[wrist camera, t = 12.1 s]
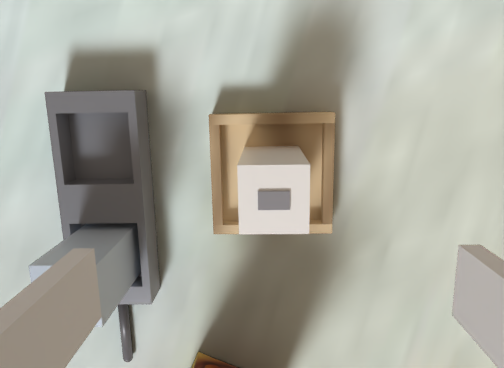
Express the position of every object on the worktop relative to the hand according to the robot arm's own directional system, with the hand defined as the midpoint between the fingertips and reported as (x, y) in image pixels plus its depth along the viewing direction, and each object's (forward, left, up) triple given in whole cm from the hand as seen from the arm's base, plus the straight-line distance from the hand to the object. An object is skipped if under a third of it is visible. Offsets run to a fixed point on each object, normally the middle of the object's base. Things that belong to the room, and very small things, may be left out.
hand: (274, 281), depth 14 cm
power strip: (-14, -6, -21) cm, 26 cm away
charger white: (0, 0, -20) cm, 20 cm away
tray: (0, 0, -21) cm, 21 cm away
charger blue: (-14, -6, -20) cm, 25 cm away
